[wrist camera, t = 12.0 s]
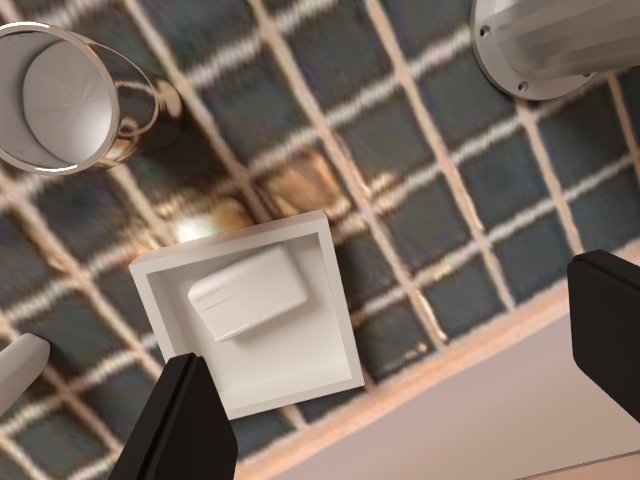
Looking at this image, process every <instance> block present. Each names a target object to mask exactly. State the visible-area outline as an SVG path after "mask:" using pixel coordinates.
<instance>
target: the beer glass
mask: <svg viewBox="0 0 640 480" xmlns="http://www.w3.org/2000/svg"><path fill="white" fill-rule="evenodd" d="M183 121H184V109H183V104H182V101H181V98H180V96H179V94H178V93H177V91H176V89H175V88H174V87H173V86H172V85H171V84H170V83H169V82H168V81H167V80H166V79H165V78H163V77H162V76H160V75H158V74H156V73H153V72H150V71H146V70H141V69H140V68H139V67H138V66H137V65H136V64H135V63H134V62H133V61H131V60H130V59H129V58H128V57H127V56H125V55H124V54H123V53H121V52H119V51H118V50H116V49H114V48H112V47H110V46H109V45H107V44H105V43H103V42H101V41H98V40H95V39H93V38H90V37H88V36H85V35H82V34H78V33H75V32H71V31H68V30H64V29H60V28H58V27H55V26H52V25H49V24H45V23H39V22H15V23H10V24H6V25H3V26H0V157H1V158H2V159H3V160H5V161H6V162H8V163H10V164H11V165H13V166H15V167H17V168H20V169H22V170H25V171H27V172H31V173H34V174H39V175H46V176H63V175H69V174H79V173H90V172H96V171H101V170H106V169H110V168H113V167H116V166H119V165H122V164H124V163H126V162H128V161H130V160H132V159H133V158H135V157H136V156H138V155H139V154H140V153H142V152H143V151H155V150H159V149H162V148H164V147H166V146H168V145H169V144H170V143H172V142H173V141H174V140H175V139H176V137H177V136H178V134H179V133H180V131H181V129H182V126H183Z"/></svg>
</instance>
